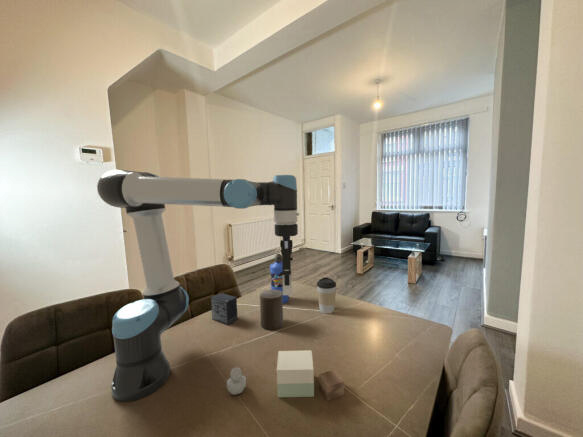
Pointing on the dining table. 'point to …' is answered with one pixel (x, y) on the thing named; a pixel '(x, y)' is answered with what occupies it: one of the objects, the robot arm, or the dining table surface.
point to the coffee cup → (326, 294)
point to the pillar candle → (271, 309)
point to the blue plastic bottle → (277, 276)
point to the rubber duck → (236, 381)
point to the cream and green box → (295, 374)
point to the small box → (224, 308)
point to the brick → (331, 384)
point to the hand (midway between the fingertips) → (287, 286)
